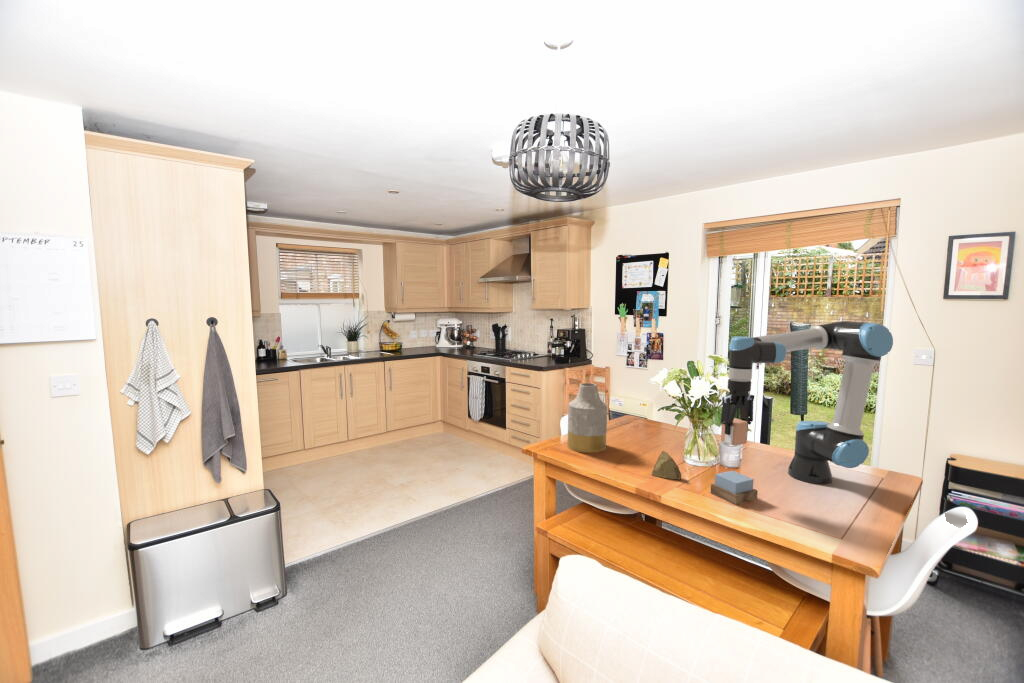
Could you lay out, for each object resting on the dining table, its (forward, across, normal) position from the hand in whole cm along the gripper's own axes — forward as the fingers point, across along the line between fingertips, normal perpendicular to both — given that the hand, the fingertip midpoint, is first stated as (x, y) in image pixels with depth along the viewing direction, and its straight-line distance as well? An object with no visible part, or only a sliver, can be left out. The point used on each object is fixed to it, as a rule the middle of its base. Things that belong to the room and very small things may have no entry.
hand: (735, 441), depth 169 cm
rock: (+21, +10, -23) cm, 33 cm away
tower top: (+17, 0, 0) cm, 17 cm away
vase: (+21, +20, -67) cm, 73 cm away
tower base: (+21, 0, +1) cm, 21 cm away
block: (0, 0, -1) cm, 1 cm away
